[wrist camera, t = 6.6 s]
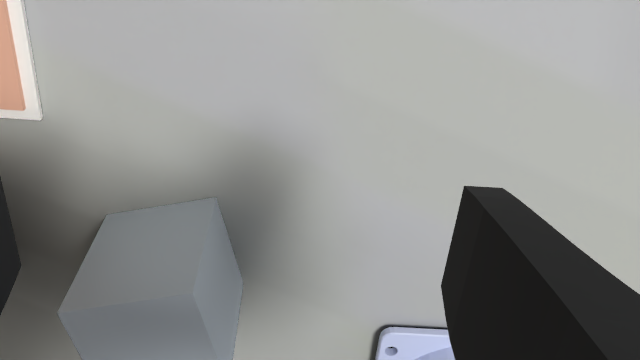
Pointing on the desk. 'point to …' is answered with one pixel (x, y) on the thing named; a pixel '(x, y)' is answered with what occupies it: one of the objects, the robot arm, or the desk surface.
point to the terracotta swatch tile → (17, 65)
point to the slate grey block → (157, 287)
